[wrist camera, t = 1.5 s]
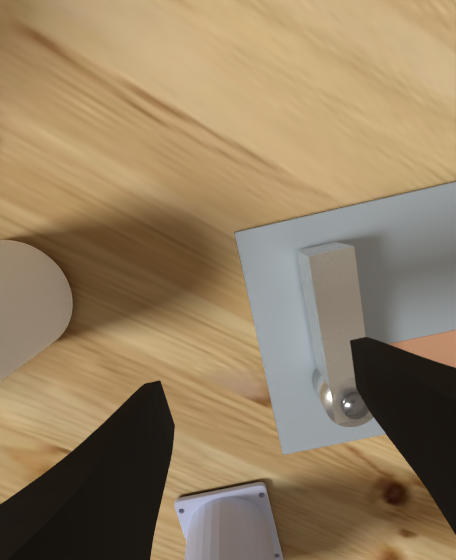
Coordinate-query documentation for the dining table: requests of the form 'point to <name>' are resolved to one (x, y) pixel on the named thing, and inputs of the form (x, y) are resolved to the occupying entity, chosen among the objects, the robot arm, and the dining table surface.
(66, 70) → the dining table surface
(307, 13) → the dining table surface
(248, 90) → the dining table surface
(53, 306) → the beverage can
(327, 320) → the latch bar
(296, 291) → the latch board
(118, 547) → the robot arm
